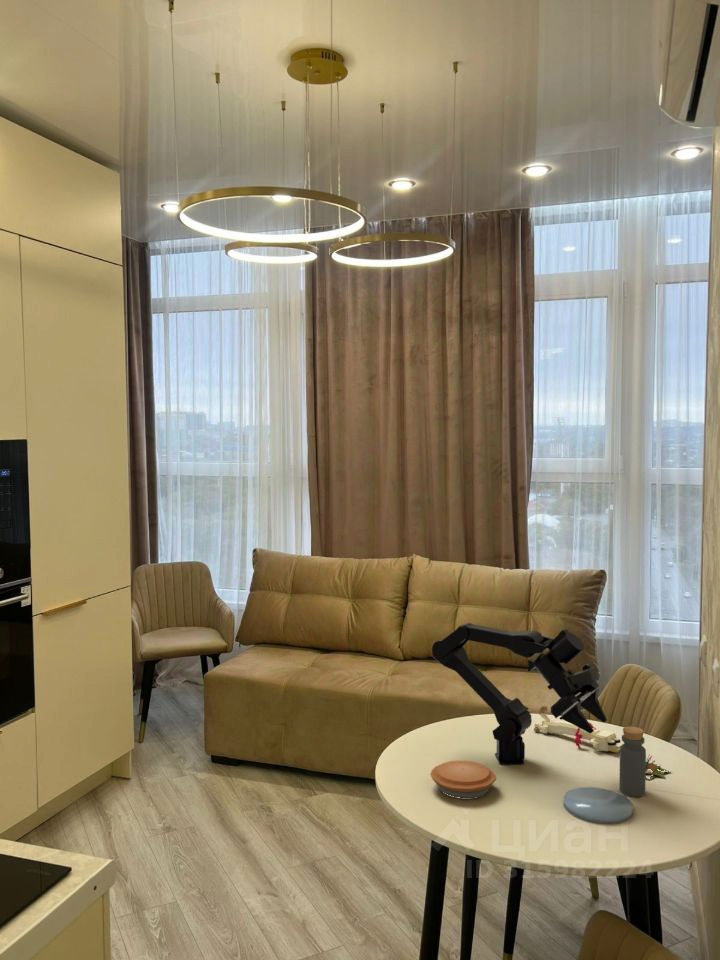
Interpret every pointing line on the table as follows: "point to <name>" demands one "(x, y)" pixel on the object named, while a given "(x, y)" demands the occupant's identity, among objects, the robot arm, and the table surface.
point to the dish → (598, 805)
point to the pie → (463, 778)
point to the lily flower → (654, 769)
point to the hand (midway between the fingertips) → (598, 726)
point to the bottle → (632, 763)
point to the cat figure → (578, 733)
